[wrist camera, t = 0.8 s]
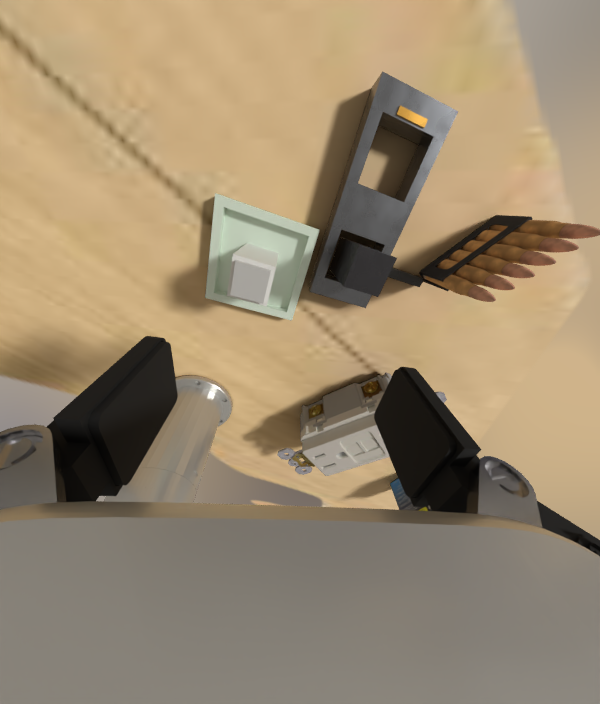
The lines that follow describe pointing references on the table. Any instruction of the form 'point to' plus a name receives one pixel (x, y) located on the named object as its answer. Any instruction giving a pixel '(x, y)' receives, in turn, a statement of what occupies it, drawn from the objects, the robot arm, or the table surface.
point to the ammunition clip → (501, 254)
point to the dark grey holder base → (379, 195)
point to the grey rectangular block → (252, 274)
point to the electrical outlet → (342, 429)
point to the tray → (266, 232)
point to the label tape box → (404, 498)
